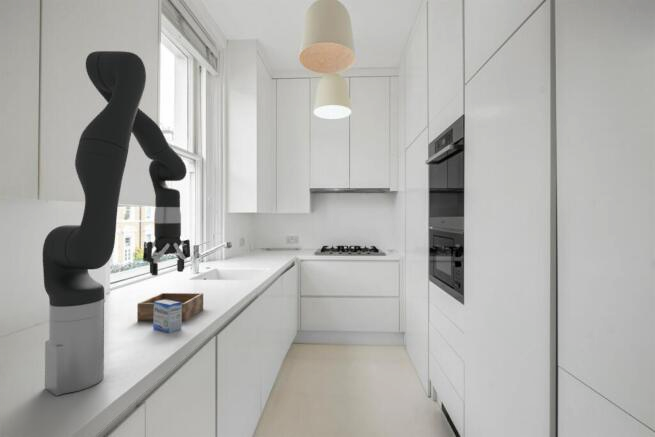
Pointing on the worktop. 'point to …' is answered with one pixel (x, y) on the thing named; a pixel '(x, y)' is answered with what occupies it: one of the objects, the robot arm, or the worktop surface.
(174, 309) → the medicine box
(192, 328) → the worktop surface
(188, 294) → the storage box
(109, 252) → the robot arm
